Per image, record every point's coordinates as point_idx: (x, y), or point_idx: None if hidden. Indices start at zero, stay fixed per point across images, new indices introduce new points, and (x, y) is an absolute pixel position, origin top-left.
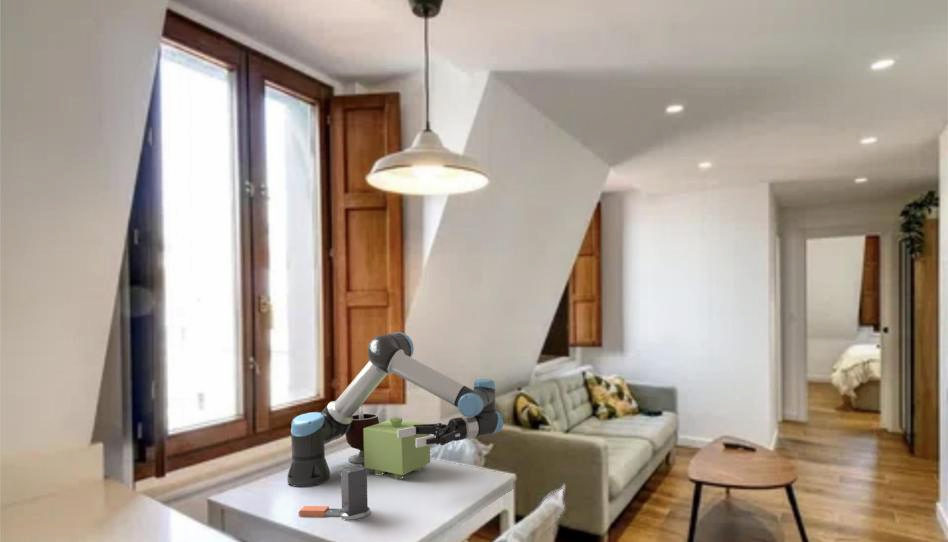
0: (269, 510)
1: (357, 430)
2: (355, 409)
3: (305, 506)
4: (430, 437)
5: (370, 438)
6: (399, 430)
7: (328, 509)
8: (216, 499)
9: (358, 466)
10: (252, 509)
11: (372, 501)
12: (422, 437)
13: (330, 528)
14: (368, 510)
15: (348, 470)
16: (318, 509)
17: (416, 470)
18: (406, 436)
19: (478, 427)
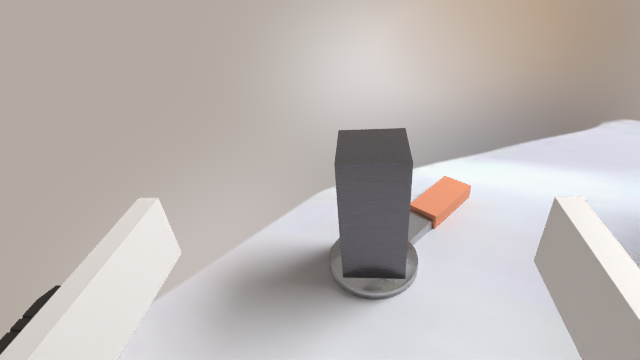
0: (512, 160)
1: None
2: None
3: (466, 186)
4: (37, 327)
5: None
6: (557, 210)
7: (426, 217)
8: (626, 120)
9: (381, 155)
10: (534, 146)
11: (453, 341)
12: (111, 244)
13: (332, 208)
14: (348, 281)
15: (359, 134)
16: (427, 198)
17: None
18: (573, 338)
19: None
